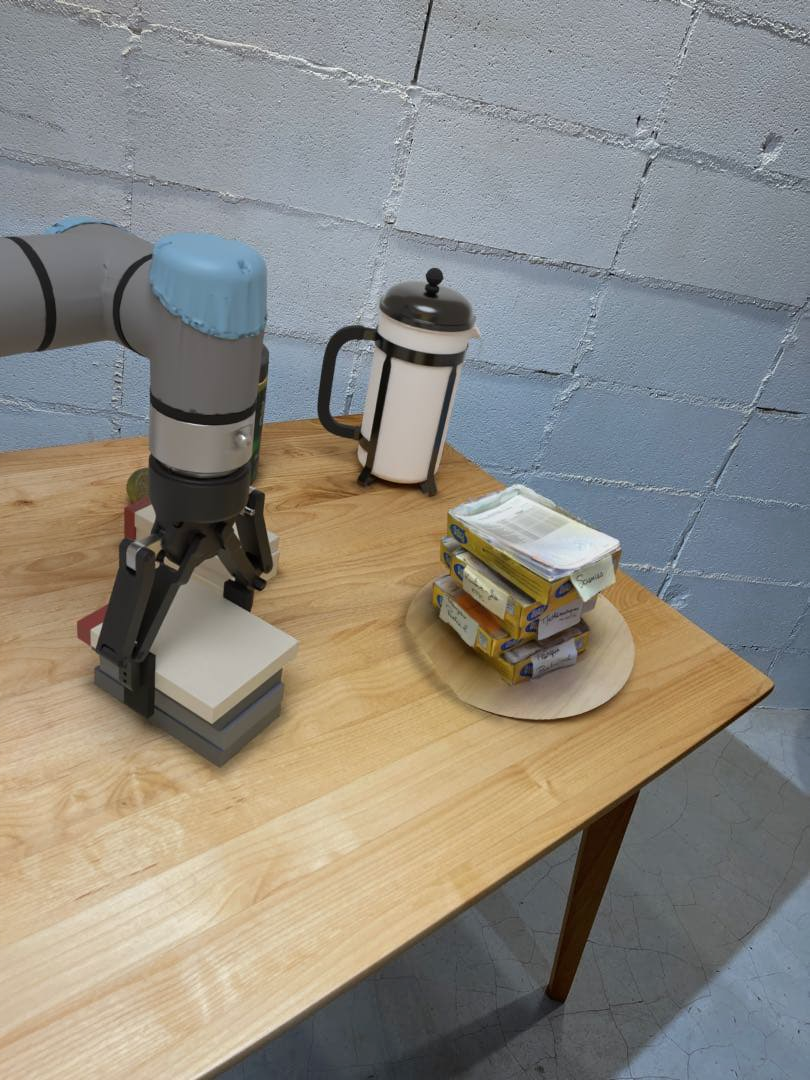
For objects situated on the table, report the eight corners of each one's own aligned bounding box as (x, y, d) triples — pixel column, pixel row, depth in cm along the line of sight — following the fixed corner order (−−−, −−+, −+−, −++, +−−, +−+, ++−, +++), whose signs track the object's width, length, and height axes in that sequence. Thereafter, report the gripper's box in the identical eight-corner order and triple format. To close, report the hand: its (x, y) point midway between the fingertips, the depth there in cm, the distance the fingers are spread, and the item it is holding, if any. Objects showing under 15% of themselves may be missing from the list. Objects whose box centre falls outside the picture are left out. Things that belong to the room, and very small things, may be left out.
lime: (165, 496, 103) (166, 461, 100) (162, 517, 99) (163, 481, 96) (128, 494, 102) (128, 458, 99) (124, 514, 98) (123, 478, 95)
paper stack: (467, 746, 76) (512, 606, 67) (372, 588, 94) (397, 461, 86) (669, 704, 87) (730, 578, 78) (547, 569, 105) (586, 454, 96)
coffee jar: (254, 494, 107) (267, 360, 97) (192, 485, 106) (200, 350, 96) (261, 460, 115) (274, 333, 105) (204, 452, 114) (212, 323, 104)
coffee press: (393, 440, 128) (430, 246, 113) (465, 487, 120) (517, 284, 104) (305, 461, 117) (333, 249, 101) (378, 515, 108) (421, 292, 93)
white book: (77, 638, 69) (76, 621, 68) (172, 583, 78) (172, 567, 77) (211, 725, 64) (212, 708, 63) (297, 655, 73) (300, 640, 72)
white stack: (123, 547, 92) (123, 507, 89) (175, 521, 98) (177, 483, 96) (229, 608, 87) (232, 567, 84) (277, 576, 93) (282, 537, 90)
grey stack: (92, 686, 74) (90, 630, 70) (158, 643, 80) (160, 590, 77) (219, 771, 69) (224, 715, 65) (280, 718, 75) (287, 664, 71)
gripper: (114, 534, 51) (116, 774, 62) (332, 430, 69) (302, 630, 80) (31, 488, 53) (48, 725, 65) (262, 399, 71) (243, 597, 83)
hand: (189, 673), depth 73 cm, fingers closed on white book, 11 cm apart
